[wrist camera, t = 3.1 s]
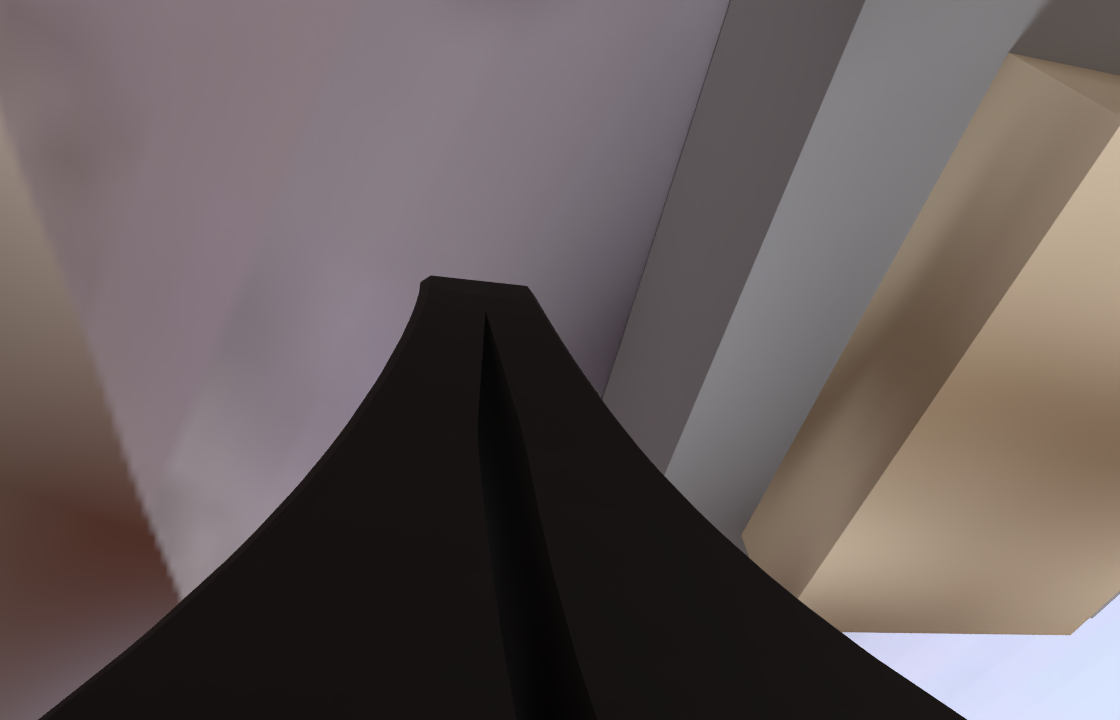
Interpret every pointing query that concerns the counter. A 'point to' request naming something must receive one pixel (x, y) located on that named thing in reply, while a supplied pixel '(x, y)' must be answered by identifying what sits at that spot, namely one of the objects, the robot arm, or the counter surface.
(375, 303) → the counter surface
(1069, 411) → the tan rectangular block
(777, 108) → the grey box
